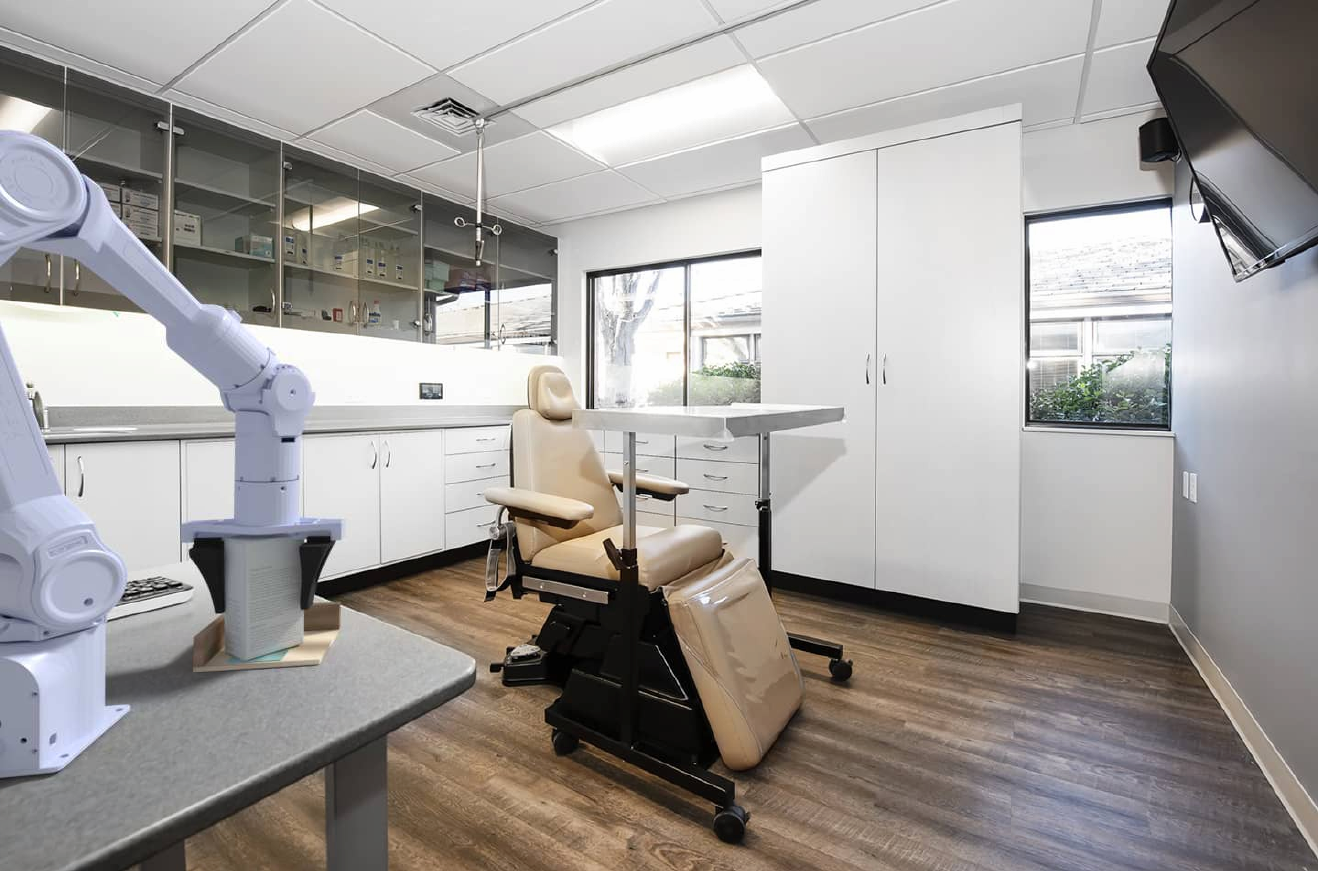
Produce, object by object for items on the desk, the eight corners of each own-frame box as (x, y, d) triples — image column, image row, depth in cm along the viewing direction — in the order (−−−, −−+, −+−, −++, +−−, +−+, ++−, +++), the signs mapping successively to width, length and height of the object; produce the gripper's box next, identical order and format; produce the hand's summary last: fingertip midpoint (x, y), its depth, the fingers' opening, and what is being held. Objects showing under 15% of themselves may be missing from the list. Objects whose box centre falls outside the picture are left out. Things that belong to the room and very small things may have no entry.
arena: (319, 664, 63) (320, 630, 63) (193, 672, 60) (193, 636, 60) (340, 631, 72) (340, 601, 72) (231, 637, 69) (232, 606, 69)
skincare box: (282, 635, 69) (284, 528, 68) (304, 644, 67) (306, 533, 66) (221, 652, 63) (222, 536, 63) (242, 662, 61) (244, 542, 61)
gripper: (352, 475, 70) (349, 594, 71) (203, 474, 66) (201, 600, 67) (338, 483, 63) (335, 614, 64) (171, 482, 59) (169, 622, 60)
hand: (265, 608), depth 65 cm, fingers open, 7 cm apart
